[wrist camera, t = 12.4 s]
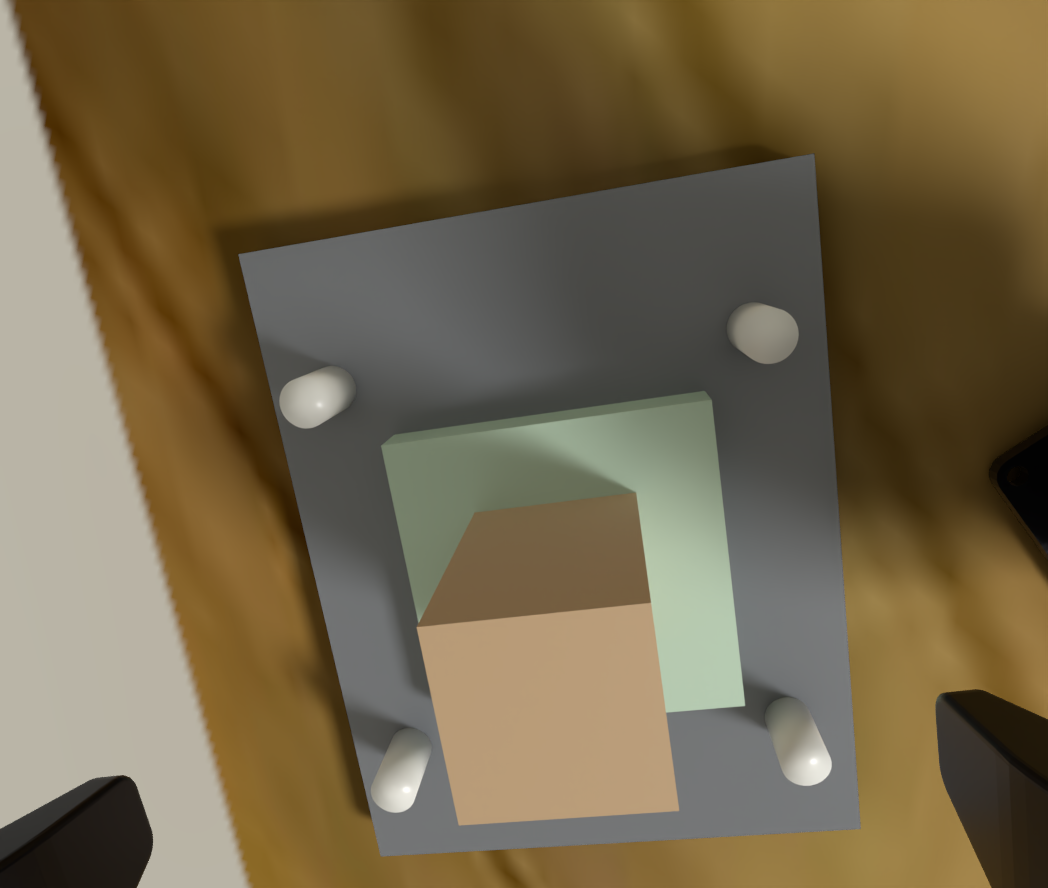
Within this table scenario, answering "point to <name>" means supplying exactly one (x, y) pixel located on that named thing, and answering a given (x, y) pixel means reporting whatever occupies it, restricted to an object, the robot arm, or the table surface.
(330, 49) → the table surface
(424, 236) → the standoff plate
